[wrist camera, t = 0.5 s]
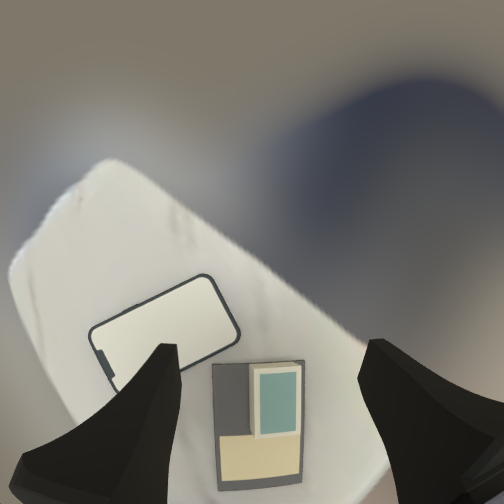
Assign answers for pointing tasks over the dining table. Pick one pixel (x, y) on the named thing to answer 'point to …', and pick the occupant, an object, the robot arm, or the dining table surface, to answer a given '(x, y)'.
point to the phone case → (165, 329)
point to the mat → (250, 436)
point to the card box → (275, 399)
